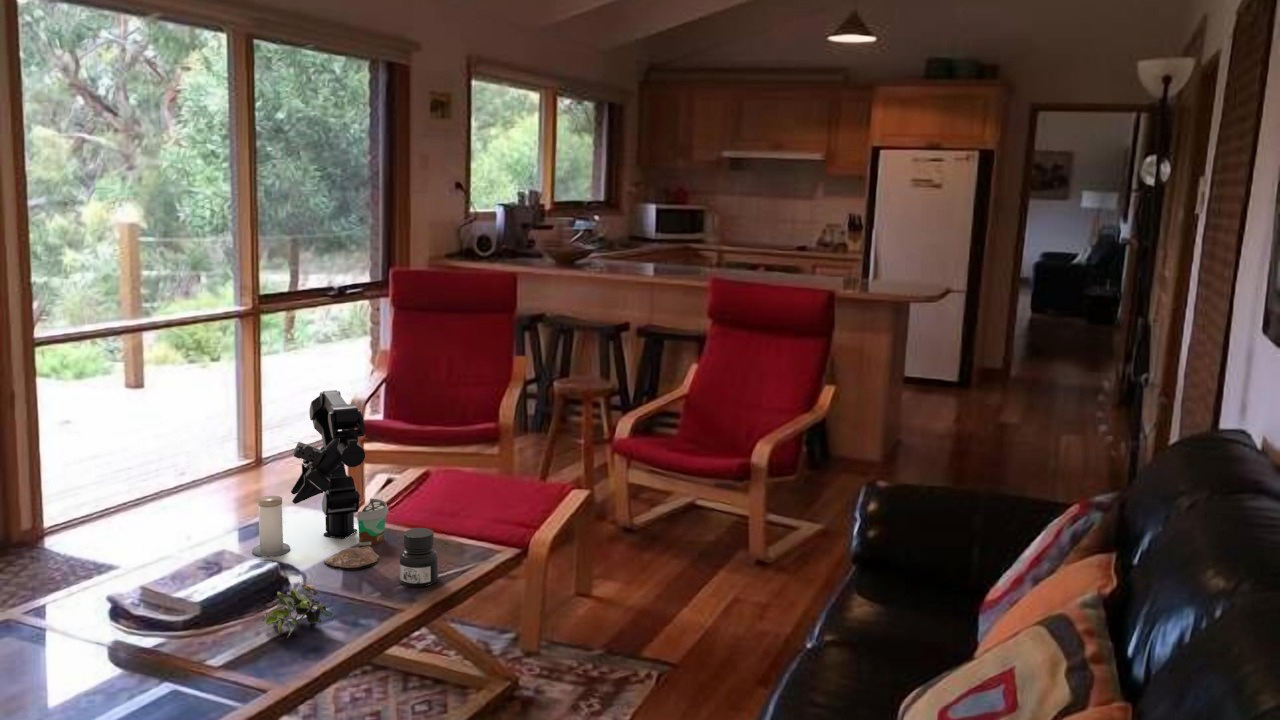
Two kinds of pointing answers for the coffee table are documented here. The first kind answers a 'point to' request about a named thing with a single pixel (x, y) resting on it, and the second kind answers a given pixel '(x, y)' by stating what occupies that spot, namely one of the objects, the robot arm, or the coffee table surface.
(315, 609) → the green leafy plant
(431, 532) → the ink bottle
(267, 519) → the tumbler
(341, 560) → the shell
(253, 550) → the coaster
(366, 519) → the food container
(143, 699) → the coffee table surface
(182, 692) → the coffee table surface
